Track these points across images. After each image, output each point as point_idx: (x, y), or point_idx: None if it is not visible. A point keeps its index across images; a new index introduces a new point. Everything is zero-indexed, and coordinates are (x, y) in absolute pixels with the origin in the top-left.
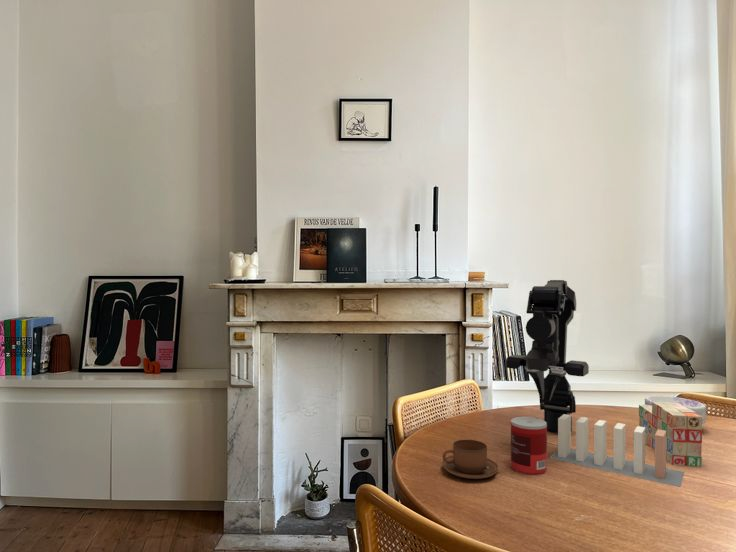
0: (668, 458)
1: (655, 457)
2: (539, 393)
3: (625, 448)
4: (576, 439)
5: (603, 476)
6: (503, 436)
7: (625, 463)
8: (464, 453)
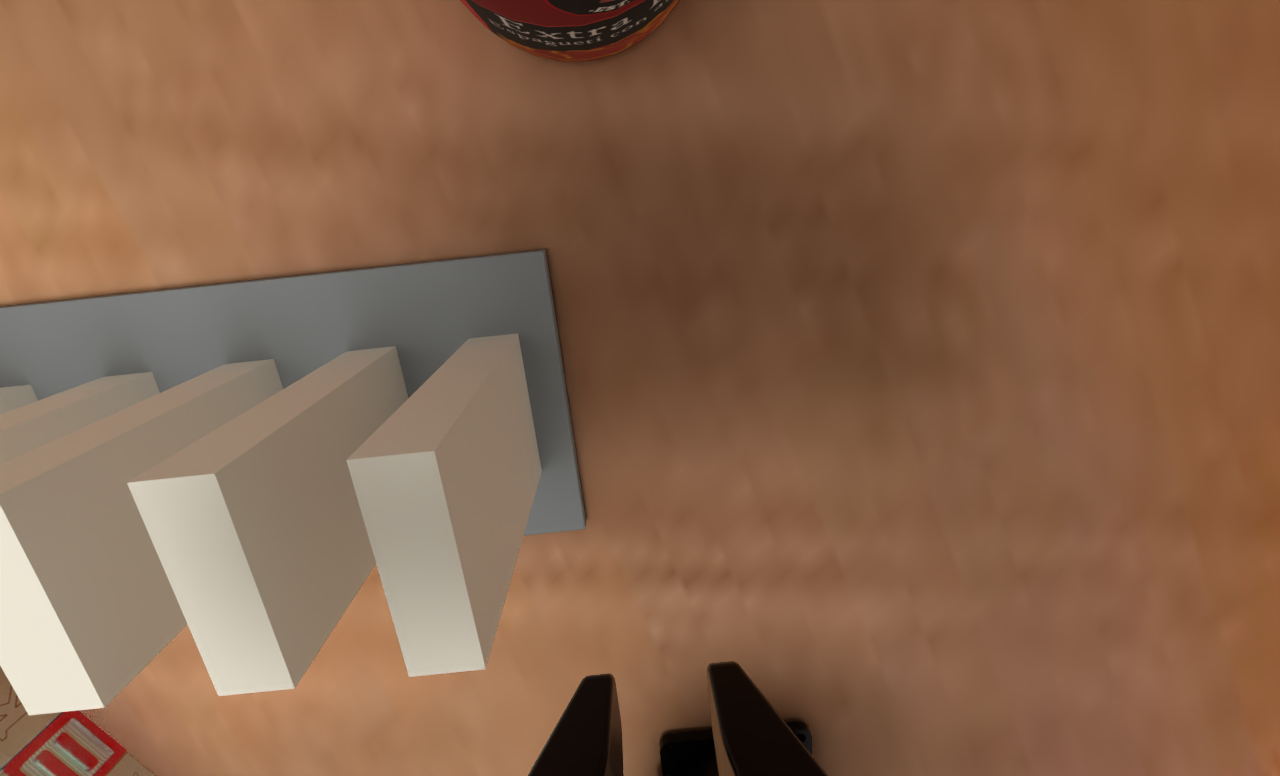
0: (20, 715)
1: None
2: (779, 735)
3: None
4: (319, 397)
5: (150, 220)
6: (995, 498)
7: None
8: None
